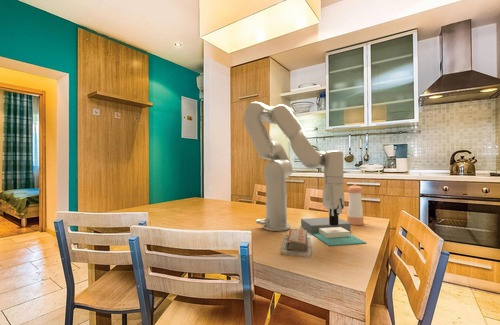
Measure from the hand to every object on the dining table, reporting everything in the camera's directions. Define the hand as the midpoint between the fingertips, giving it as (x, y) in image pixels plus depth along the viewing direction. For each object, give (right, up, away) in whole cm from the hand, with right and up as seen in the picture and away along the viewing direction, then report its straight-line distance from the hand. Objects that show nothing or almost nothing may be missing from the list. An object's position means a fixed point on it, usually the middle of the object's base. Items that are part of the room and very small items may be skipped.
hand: (333, 225), depth 100 cm
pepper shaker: (+17, -4, +19) cm, 26 cm away
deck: (-1, -4, +10) cm, 11 cm away
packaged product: (-18, -5, -12) cm, 22 cm away
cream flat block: (0, -4, 0) cm, 4 cm away
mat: (0, -4, -4) cm, 6 cm away
